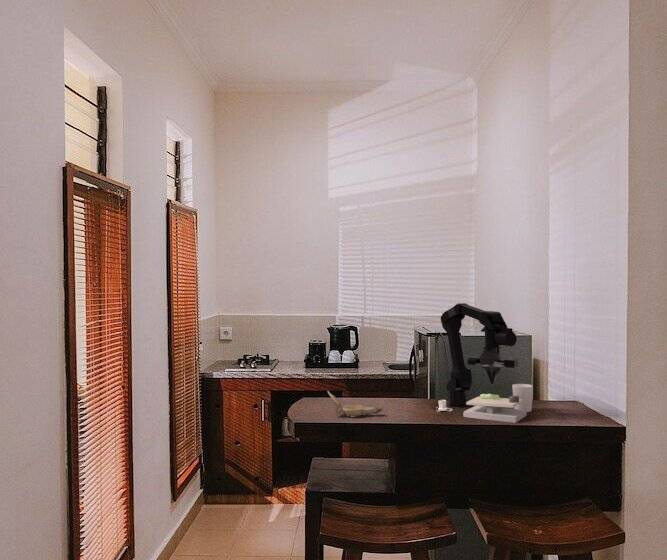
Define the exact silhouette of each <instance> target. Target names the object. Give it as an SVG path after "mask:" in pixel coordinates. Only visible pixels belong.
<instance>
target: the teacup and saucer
mask: <svg viewBox="0 0 667 560" xmlns="http://www.w3.org/2000/svg"><path fill="white" fill-rule="evenodd" d="M438 407H439V408H438ZM438 407H437V408H438V410H437V411H438V412H440V411H447V412H452V411H453V408H450V407H447V400H446V399H438Z"/></svg>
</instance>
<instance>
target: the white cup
mask: <svg viewBox="0 0 667 560" xmlns="http://www.w3.org/2000/svg"><path fill="white" fill-rule="evenodd" d="M511 386H512V387H511V388H512V396H519V399H523V402H522V403H520V404H519V405H517V406H515V407H513V409H517V410H526V413H529V412H532V408H533V395H534V394H533V392H534V391H533V390H534V389H533V388H534V386H533V385H532V384H528V383H515V384H512V385H511Z"/></svg>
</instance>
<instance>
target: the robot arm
mask: <svg viewBox="0 0 667 560" xmlns="http://www.w3.org/2000/svg"><path fill="white" fill-rule="evenodd" d="M466 317H469V318H472V319H474V320H477V321H478V323H480V325H482V326H483V327H482V328H481V329H480V332H482V333H484V346H483V351H482V353H481V354H480V355H479V356H474V355H472V356H469V357H467V359H466V361H467V363H465V359H464V357H465V356H464V353H463V352H464V351H463V347H462V340H461V335H460V331H461V329H462V326H463V323H462V322H463V320H464V318H466ZM440 323H441V325H442V329H443V330H444V331H445V332H446V333H447V340H448V344H449V350H450V357H451V364H452V369H451V372H450V374H449V376H450V379H449V381H448V382H447V384H446V386H445V387H446V391H447V392H449V404H448V406H452V407H461V408H465V407H467V405H466V402H467V401H469V394H468V393H467V392H468V391H470V390H471V386H472V383H473V376H472V370H471V369H470V368H468V367H466V364H467V365H469V366H475V365H477V364H480V365H481V368H482V369H483V370H485V372H486V373H487V376H488V378H489V382H490V384H491V385H494V384H495V382H496V380H497V377H498V374H499V373H500V371H501V369H503V368H504V367H505V368H509V369H515V368H517V367H519V360H518V359H517V358H506V359H504V360H503V359H502V357H501V348H502V347H501V346H503V347H504V346H506V347H513V346H515V345H516V344H517V339H518V338H517V337H518V336H517V335H516V333H515V332H514V331H513V328H512V327H509V326H508V325H507V324H506V321H505V319H504V318H503V316H502V313H501V312H499V311H494V310H483V309H481V308H478V307H475V306H473V305H470V304H468V303H461V302H459V303H456V304H455V305H454V306H452V307H451V308H448V309H447V310H446V311H444V312H443V313H442V314H441V316H440Z"/></svg>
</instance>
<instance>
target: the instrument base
mask: <svg viewBox="0 0 667 560" xmlns="http://www.w3.org/2000/svg"><path fill="white" fill-rule="evenodd" d="M462 413H463V414H462V415H463V417H464V418H469V419H479V420H480V419H481V420H486V421H487V420H488V421H496V422H497V421H498V422H504V423H505V422H506V423H512V424H513V423H514V424H515V423H518V422H519V421H520V420H522V419H523V418H525V417H527V413H528V412H526V410H517V409H514V408H508V407H494V406H479V405H473V407H470V408H468V409H466V410H464V411H463V412H462Z"/></svg>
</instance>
